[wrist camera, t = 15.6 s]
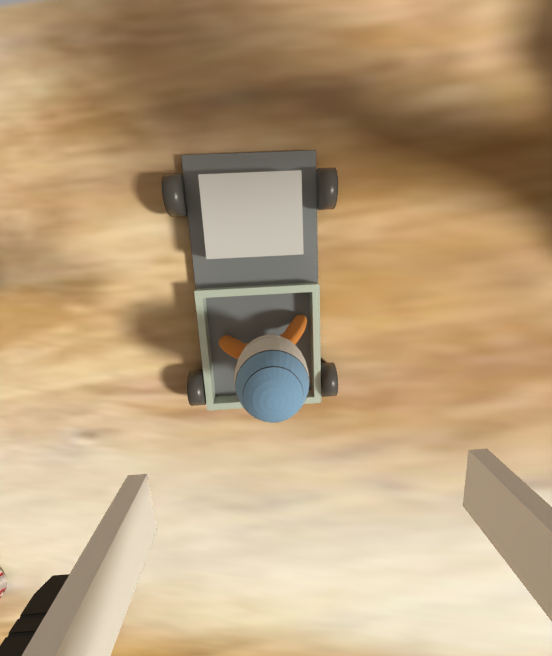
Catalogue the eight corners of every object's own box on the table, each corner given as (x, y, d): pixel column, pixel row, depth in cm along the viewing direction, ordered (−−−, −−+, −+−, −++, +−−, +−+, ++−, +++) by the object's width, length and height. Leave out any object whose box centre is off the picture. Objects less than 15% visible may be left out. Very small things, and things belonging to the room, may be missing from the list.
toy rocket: (297, 389, 41) (279, 478, 27) (219, 362, 42) (163, 435, 28) (324, 317, 38) (321, 377, 24) (239, 288, 38) (186, 330, 24)
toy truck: (329, 152, 35) (337, 140, 31) (330, 390, 42) (338, 405, 38) (168, 158, 34) (156, 147, 30) (196, 399, 41) (190, 415, 37)
